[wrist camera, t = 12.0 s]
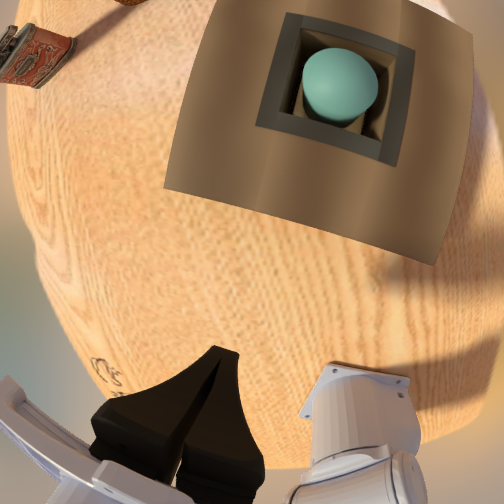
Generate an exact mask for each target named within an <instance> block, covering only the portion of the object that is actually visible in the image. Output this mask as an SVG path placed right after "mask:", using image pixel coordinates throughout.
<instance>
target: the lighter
mask: <svg viewBox="0 0 504 504" xmlns="http://www.w3.org/2000/svg"><path fill="white" fill-rule="evenodd" d="M17 30H18V27H17V26H14V25H10V26H8V27H7V28H6V29H5V30H4V32H3V33H2V34H1V36H0V83H7V84H16V85H24V86H31V87H32V88H35V89H39V88H41V87H42V86H43V85H44V84H45V83H47V82H48V81H49V80H50V79H51V78H52V77H53V76H54V75H55V74H56V73H57V72H58V71H59V70H60V68H61V67H62V66H63V65H64V64H65V63H66V62H67V61H68V59H69V58H70V57H71V56H72V55H73V53H74V52H75V50H76V48H77V45H78V41H77V40H76V39H74V38H72V37H68V38H67V37H65V36H62V35H59V34H56V33H54V32H51V31H48V30H45V29H42V28H39V27H36V26H35V24H32V23H27V24H26V25H25V26H24V27H23V28H22V29H21V30H20V31H19V32H18V33H17V34H16V32H17ZM15 34H16V35H15ZM14 35H15V37H14Z"/></svg>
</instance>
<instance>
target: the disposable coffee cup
mask: <svg viewBox="0 0 504 504" xmlns="http://www.w3.org/2000/svg"><path fill="white" fill-rule="evenodd" d="M115 1H117V2H119V3H121V4H123V5H127V6H128V5H136V4H138V3H141V2H144V1H146V0H115Z"/></svg>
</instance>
